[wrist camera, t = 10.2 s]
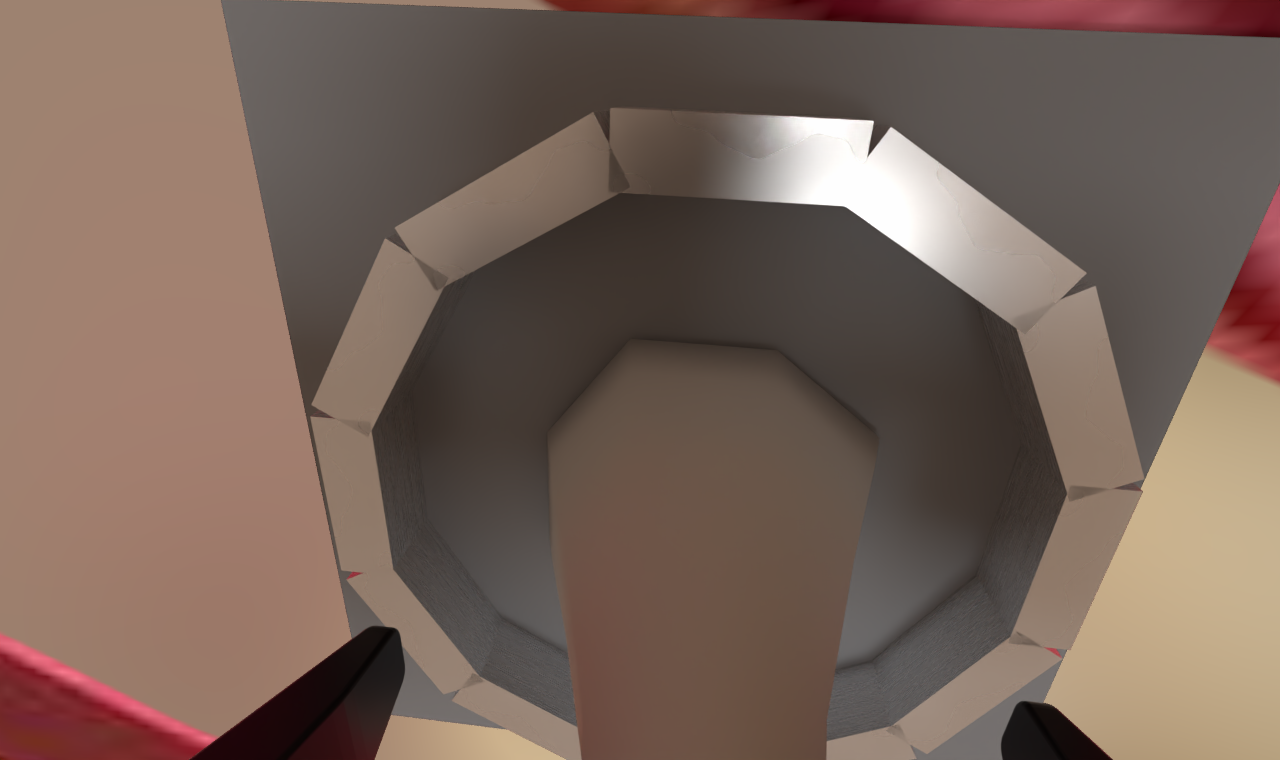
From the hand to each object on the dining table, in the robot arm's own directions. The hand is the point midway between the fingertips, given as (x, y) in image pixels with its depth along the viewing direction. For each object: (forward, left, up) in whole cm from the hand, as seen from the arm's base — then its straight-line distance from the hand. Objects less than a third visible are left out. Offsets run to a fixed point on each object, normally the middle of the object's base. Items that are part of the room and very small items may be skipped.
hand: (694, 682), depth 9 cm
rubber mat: (0, 0, -6) cm, 6 cm away
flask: (0, 0, -5) cm, 5 cm away
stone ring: (0, 0, -6) cm, 6 cm away
